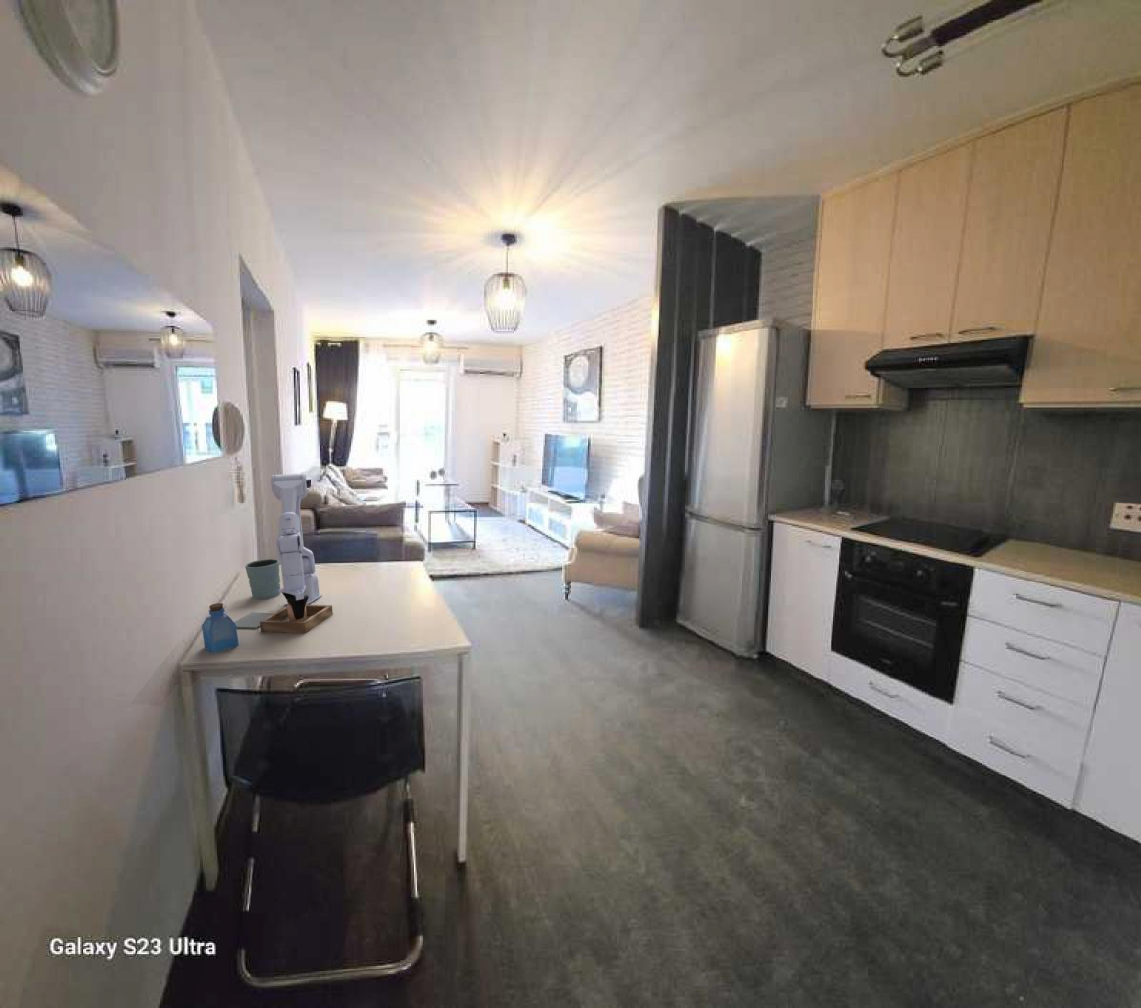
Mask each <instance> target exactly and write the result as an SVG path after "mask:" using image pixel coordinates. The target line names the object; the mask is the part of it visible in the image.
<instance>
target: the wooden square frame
mask: <svg viewBox="0 0 1141 1008" xmlns="http://www.w3.org/2000/svg"><path fill="white" fill-rule="evenodd" d="M306 612H307V616H310V617H309V618H308V617H307V620H305V621H304V622H297V621H289V620H287V621H286V620H285V619H288V610H287V606H285V607H284V608H282V609H280V610H278V611H277V612H273V613H274V614H273V615H271V616H269V617H267V618H266V619H264V620H262V621H260V627H259V628H260V632H264V633H265V632H267V633H268V632H272V633H299V634H300V633H301V634H302V633H303V634H306V633H307V632H309V631H310V630H313V629H314V628H315V627H316V626H318V625H320V624H321V623H322V622H324V621H325V620H326V619H328V618H329V617H331V616H332V615H333V614H334V612H333V605H332V604H331V605H329V604H308V605H306Z"/></svg>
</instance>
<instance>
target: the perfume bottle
mask: <svg viewBox="0 0 1141 1008" xmlns="http://www.w3.org/2000/svg"><path fill="white" fill-rule="evenodd" d="M208 608H209V610H208V614H209V616H207V617H205V620H204V621H203V624H202V625H201V629H202V635H203V636H202V637H203V643H204V648H205V649H206V650H208V651H209V652H210V653H211V654H216V653H219V652H222V651H226V650H229V649H232V648H235V647H238V646H239V638H238V632H237V628H236V624H235V623H234V622H235V621H233V620H232V618H231V617H230V616H229V615H228V614H226V613H225V607H224V603H223V602H218V603H213V604H210V605H209V606H208Z"/></svg>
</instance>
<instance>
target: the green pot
mask: <svg viewBox="0 0 1141 1008" xmlns="http://www.w3.org/2000/svg"><path fill="white" fill-rule="evenodd" d="M244 567H245V571H246V574H247V579H248V583H249V587H250V590H251V595H252V598H253V600H267V599H271V598H272V599H273V598H274V597H278V596H279V595H280V594H281V593H280V592H279V589H281V584H280V582H281V581H280V580H281V579H280V577H281V576H280V560H279V559H276V558H266V559H265V558H264V559H259V560H253V561H251V562H248V563H246V564H245V566H244Z"/></svg>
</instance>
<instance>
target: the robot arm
mask: <svg viewBox="0 0 1141 1008" xmlns="http://www.w3.org/2000/svg"><path fill="white" fill-rule="evenodd" d="M270 484H271V490H272V492H273V495H274V497H275V498H276V500H280V501H281V511H282V514H281V515H280V516H279V517H278V537H276V539H275V545H276V546H275V547H276V552H277V554H278V560H279V562H280V569H281V576H282V578H281V579H282V585H283V588H280V589H279V592H280V594H282V595H283V597H284V598H285V600H286V602H285V603H283V604H284V606H287V604H288V603H290V605H291V607H292V610H293V613H294V617H295V619H296V620H297V619H301V618H304V612H305V606H306V605H310V604H312V603H313V602H314V601H316V600H318V599H319V598H322V596H323V595H322V594H320V586H319V585H320V584H319V579H318V576H317V575H316V574H315V573H316V563H315V556H314V552H313V551H312V550H311V549H309V548H307V547H305V546H304V534H303V524H302V515H301V513H302V512H301V511H302V510H301V503H302V500H303V499H305V498H307V495H308V487H307V486H308V485H307V476H306V474H305V473H304V472H301V473H287V474H285V473H284V474H272V475H271V476H270Z"/></svg>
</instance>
